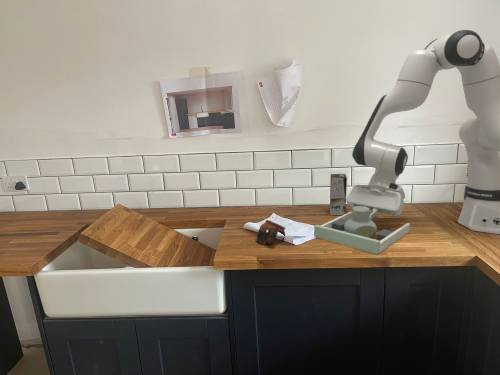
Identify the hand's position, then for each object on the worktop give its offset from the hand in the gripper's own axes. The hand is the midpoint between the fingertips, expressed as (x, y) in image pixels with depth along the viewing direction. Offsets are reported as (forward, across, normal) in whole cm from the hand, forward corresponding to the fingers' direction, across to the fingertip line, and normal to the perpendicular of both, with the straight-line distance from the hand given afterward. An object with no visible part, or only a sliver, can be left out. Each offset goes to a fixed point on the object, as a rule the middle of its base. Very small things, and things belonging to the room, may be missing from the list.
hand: (366, 219), depth 124 cm
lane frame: (+5, 0, +1) cm, 5 cm away
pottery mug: (+24, -20, -17) cm, 36 cm away
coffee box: (-6, -20, +13) cm, 25 cm away
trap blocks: (+5, 0, +1) cm, 5 cm away
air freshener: (+7, 0, 0) cm, 7 cm away
